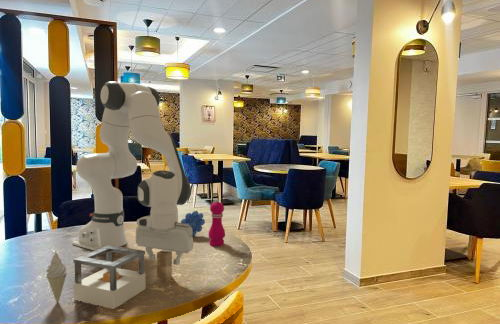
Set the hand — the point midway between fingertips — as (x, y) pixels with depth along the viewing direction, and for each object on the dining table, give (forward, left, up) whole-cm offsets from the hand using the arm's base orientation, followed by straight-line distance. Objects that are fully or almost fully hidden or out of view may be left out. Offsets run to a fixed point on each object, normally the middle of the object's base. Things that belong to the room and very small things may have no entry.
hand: (164, 262), depth 120 cm
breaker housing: (-8, -16, -6) cm, 19 cm away
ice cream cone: (-18, -26, -6) cm, 32 cm away
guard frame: (-8, -16, -1) cm, 18 cm away
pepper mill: (0, +40, -6) cm, 40 cm away
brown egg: (-8, -16, -4) cm, 18 cm away
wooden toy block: (0, 0, -6) cm, 6 cm away
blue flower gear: (-16, +47, -6) cm, 50 cm away
